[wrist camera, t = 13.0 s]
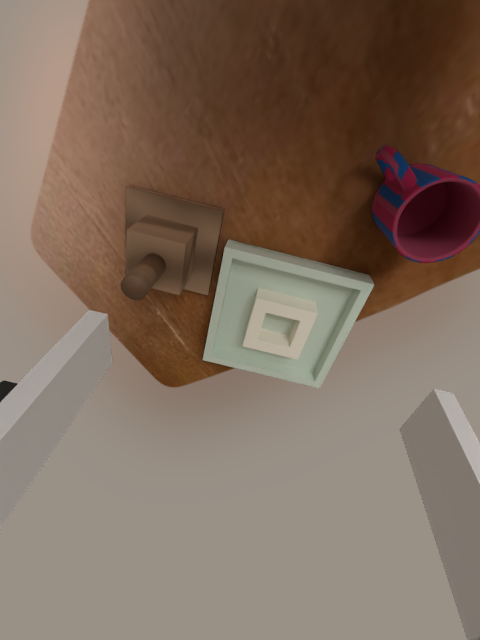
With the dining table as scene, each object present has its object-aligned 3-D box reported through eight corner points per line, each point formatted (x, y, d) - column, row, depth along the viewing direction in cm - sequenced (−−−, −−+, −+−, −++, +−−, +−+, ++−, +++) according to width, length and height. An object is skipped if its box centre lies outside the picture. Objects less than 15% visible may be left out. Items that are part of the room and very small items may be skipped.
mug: (389, 249, 32) (411, 277, 27) (343, 164, 28) (357, 176, 23) (458, 210, 29) (499, 232, 24) (417, 110, 26) (455, 108, 20)
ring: (244, 334, 40) (242, 346, 38) (257, 287, 36) (256, 298, 34) (297, 347, 40) (297, 359, 38) (316, 302, 36) (318, 313, 34)
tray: (228, 239, 34) (224, 246, 32) (369, 274, 34) (374, 284, 32) (206, 348, 43) (202, 360, 41) (317, 375, 43) (319, 388, 41)
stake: (129, 185, 32) (68, 213, 23) (224, 209, 32) (200, 246, 23) (129, 271, 37) (79, 321, 28) (209, 291, 38) (185, 348, 28)
